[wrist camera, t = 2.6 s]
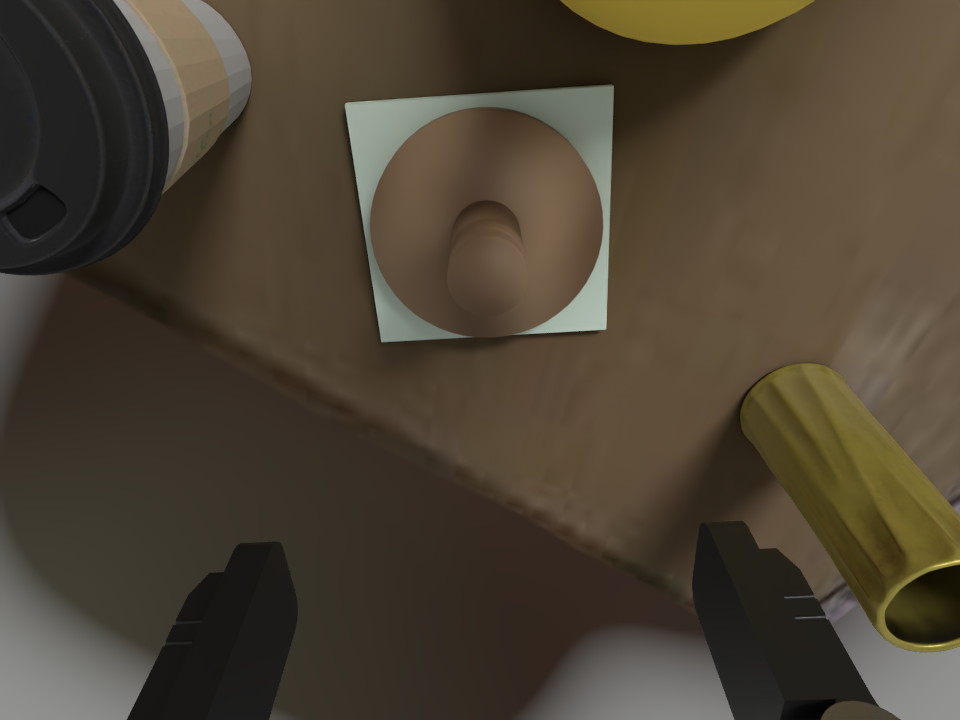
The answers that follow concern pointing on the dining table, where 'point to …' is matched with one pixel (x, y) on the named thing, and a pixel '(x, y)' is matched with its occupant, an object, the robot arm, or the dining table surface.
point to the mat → (395, 120)
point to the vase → (862, 503)
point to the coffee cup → (104, 119)
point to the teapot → (684, 18)
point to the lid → (486, 222)
